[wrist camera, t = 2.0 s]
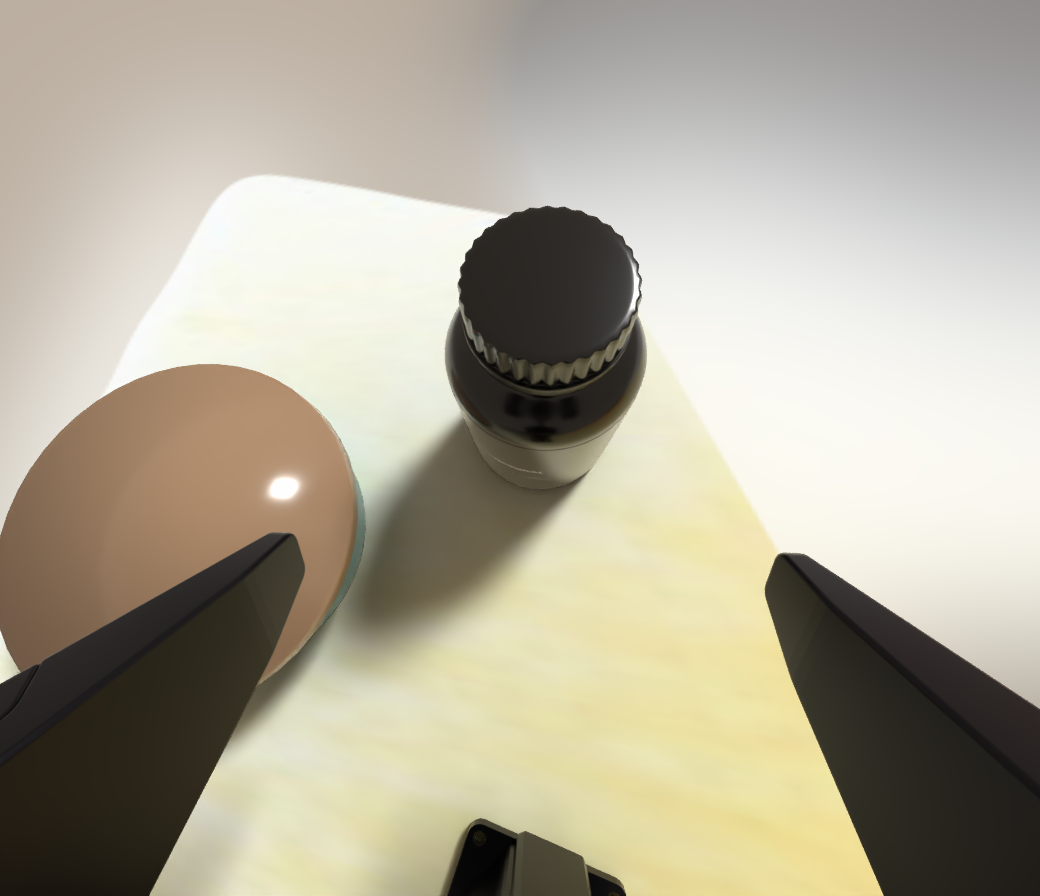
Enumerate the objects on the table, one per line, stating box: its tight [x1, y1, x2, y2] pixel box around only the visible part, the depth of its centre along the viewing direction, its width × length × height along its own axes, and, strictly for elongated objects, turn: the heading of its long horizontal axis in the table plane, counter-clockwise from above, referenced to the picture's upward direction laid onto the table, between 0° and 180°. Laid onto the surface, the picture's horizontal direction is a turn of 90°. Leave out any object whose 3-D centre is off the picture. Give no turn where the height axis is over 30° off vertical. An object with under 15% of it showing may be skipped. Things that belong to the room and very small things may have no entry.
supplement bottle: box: [445, 206, 647, 489], centre depth 17 cm, size 7×7×12 cm
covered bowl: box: [0, 364, 365, 686], centre depth 20 cm, size 14×14×4 cm
